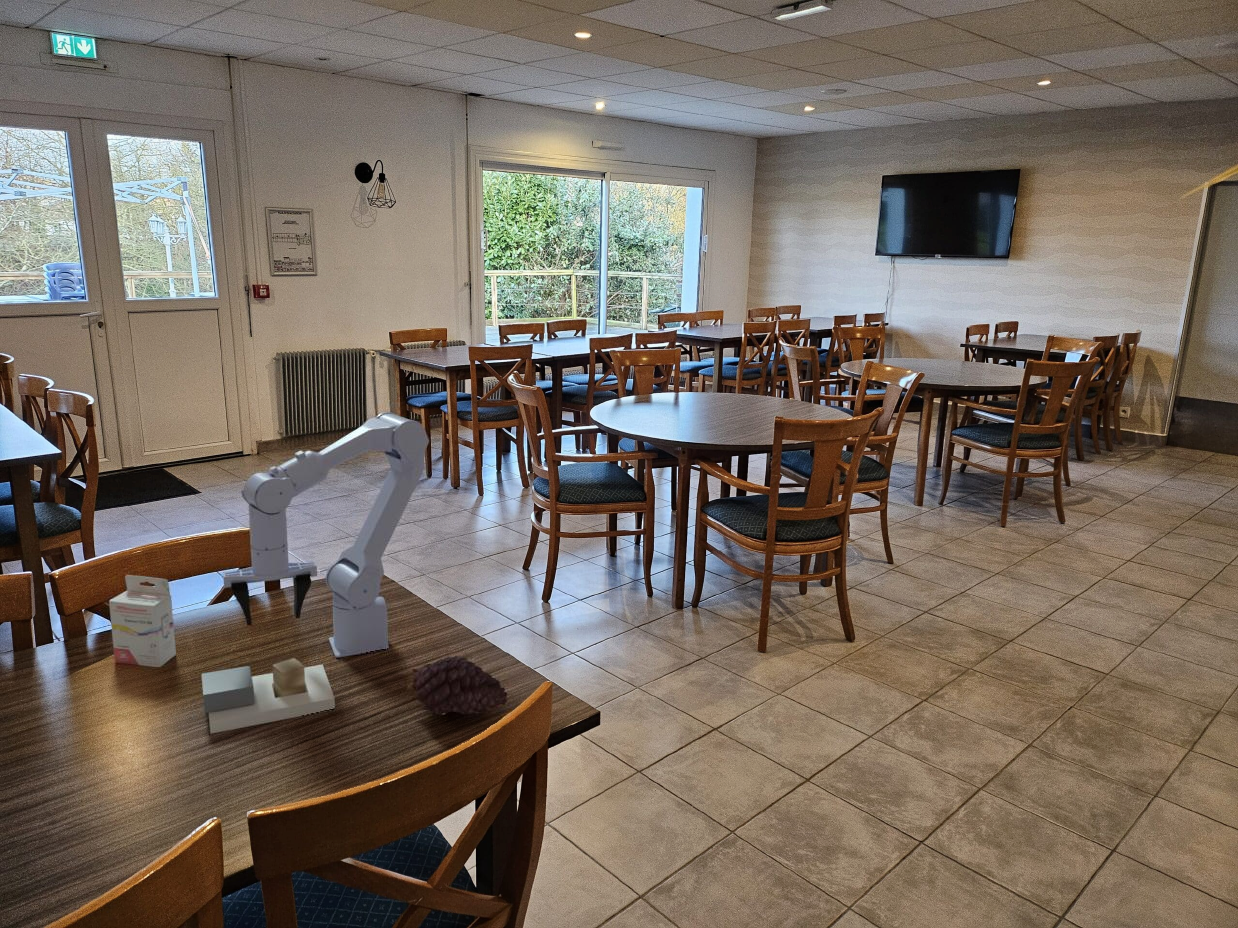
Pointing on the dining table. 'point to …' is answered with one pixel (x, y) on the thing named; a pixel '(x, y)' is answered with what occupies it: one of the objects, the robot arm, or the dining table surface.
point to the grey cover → (227, 688)
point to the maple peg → (288, 678)
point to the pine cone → (456, 687)
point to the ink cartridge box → (143, 623)
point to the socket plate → (276, 702)
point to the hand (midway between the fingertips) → (273, 619)
